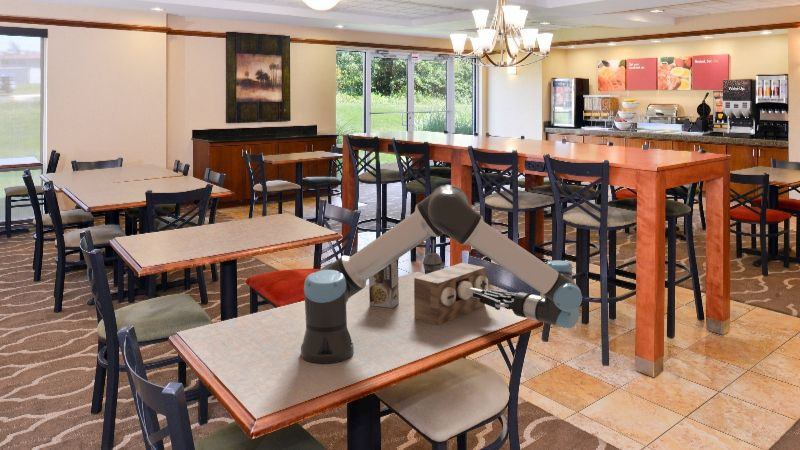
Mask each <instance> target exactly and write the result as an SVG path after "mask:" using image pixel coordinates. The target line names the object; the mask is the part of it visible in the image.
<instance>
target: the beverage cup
mask: <svg viewBox="0 0 800 450" xmlns="http://www.w3.org/2000/svg"><path fill="white" fill-rule="evenodd" d="M422 260H423V262H422V264H423V268H424V275H425V274H428V273H431V272H434V271H438V270H441V269H442V267H443V265H442V264H443V261H442V257H441V256H440V254H438V252H435V240H434V239H432V251H430V252H427V253H426V254H425V255H424V257H423V259H422Z"/></svg>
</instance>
